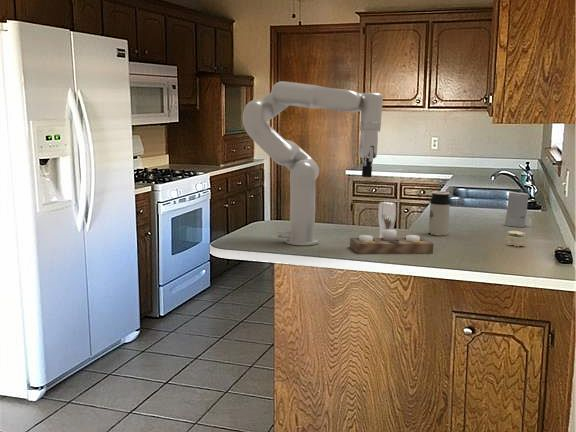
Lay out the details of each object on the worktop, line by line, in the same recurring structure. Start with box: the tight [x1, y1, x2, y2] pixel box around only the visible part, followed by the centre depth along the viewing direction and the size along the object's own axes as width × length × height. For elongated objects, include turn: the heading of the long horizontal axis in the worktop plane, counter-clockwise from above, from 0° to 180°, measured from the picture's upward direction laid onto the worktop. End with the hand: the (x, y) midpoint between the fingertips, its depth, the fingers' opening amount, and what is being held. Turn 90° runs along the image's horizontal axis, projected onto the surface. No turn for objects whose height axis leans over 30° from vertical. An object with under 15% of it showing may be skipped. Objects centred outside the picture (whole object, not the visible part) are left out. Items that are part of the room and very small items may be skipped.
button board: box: [349, 237, 434, 255], centre depth 234 cm, size 28×12×4 cm, turn 98°
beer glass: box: [377, 201, 397, 238], centre depth 252 cm, size 7×7×15 cm
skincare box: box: [504, 191, 530, 228], centre depth 297 cm, size 8×7×16 cm
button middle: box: [383, 228, 398, 241], centre depth 235 cm, size 5×5×4 cm
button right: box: [405, 234, 421, 241], centre depth 237 cm, size 5×5×4 cm
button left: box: [358, 234, 374, 241], centre depth 234 cm, size 5×5×4 cm
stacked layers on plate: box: [506, 230, 527, 247], centre depth 249 cm, size 10×9×6 cm
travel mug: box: [428, 190, 451, 236], centre depth 269 cm, size 8×8×18 cm
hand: (366, 176), depth 235 cm, fingers closed
